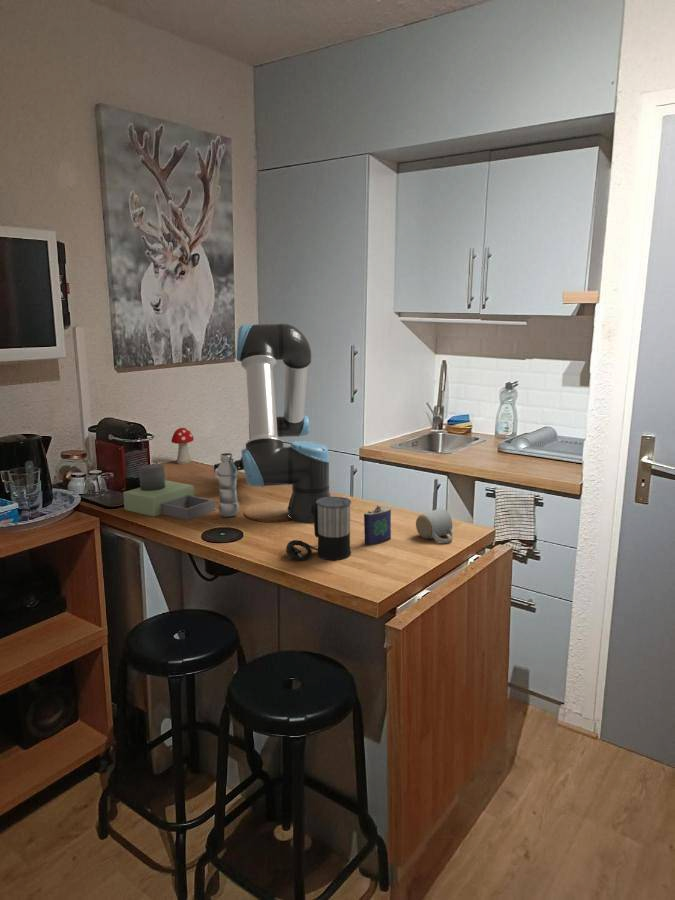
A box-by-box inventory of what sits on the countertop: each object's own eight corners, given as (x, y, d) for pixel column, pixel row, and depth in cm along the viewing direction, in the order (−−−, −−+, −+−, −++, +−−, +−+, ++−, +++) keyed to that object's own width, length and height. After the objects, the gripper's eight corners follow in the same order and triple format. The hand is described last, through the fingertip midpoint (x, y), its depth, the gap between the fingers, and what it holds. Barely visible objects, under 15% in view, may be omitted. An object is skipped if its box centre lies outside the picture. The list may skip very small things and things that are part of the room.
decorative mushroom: (184, 459, 293) (182, 425, 290) (199, 461, 289) (197, 426, 286) (168, 463, 285) (165, 429, 281) (183, 466, 280) (181, 430, 277)
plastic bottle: (236, 511, 218) (234, 451, 213) (241, 517, 211) (238, 455, 207) (217, 514, 215) (213, 453, 211) (221, 520, 209) (218, 457, 205)
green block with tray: (221, 507, 222) (219, 469, 219) (181, 522, 207) (178, 482, 204) (165, 496, 236) (163, 460, 233) (124, 509, 221) (121, 471, 218)
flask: (387, 536, 193) (387, 500, 190) (393, 539, 190) (394, 503, 188) (362, 544, 187) (362, 507, 185) (369, 546, 185) (368, 509, 183)
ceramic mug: (413, 535, 193) (414, 510, 192) (435, 530, 198) (436, 505, 196) (438, 546, 185) (439, 520, 183) (460, 540, 189) (461, 514, 187)
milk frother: (358, 553, 180) (358, 500, 177) (318, 571, 169) (317, 514, 165) (320, 541, 189) (319, 491, 186) (279, 557, 178) (277, 503, 175)
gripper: (287, 470, 240) (273, 486, 219) (220, 469, 243) (200, 484, 223) (287, 450, 238) (273, 464, 218) (219, 449, 242) (199, 462, 221)
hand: (236, 474), depth 220 cm, fingers open, 13 cm apart
